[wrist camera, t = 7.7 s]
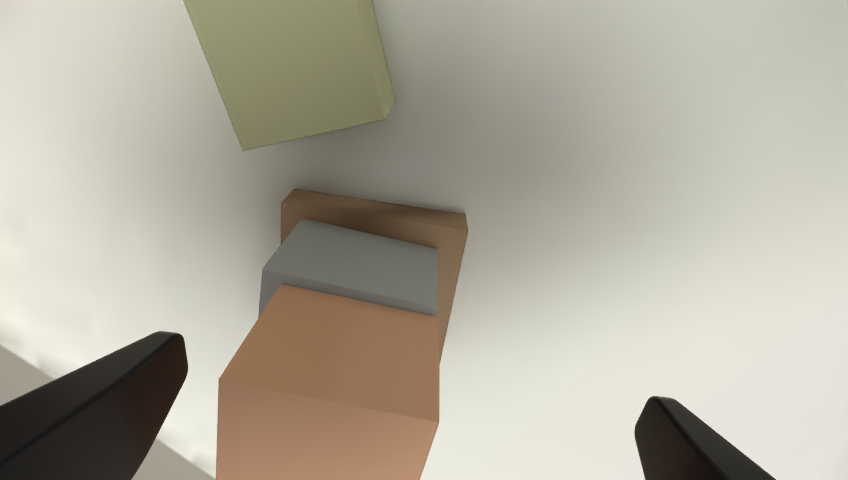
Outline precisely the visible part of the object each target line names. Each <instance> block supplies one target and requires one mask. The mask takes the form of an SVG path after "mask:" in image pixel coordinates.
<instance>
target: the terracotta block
mask: <svg viewBox="0 0 848 480" xmlns="http://www.w3.org/2000/svg"><path fill="white" fill-rule="evenodd" d="M439 350H440V317H437V316H432V315H427V314H422V313H418V312H413V311H408V310H404V309H399V308H394V307H389V306H385V305H380V304H375V303H370V302H366V301H361V300H356V299H351V298H347V297H342V296H337V295H333V294H328V293H323V292H318V291H314V290H309V289H304V288H299V287H295V286H290V285H285V284H281V285H280V286H279V288H278V289H277V291H276V292H275V294H274V296H273V297H272V299H271V300H270V302H269V303H268V305H267V306H266V308H265V309H264V311H263V312H262V314H261V315H260V317H259V319H258V320H257V322H256V323H255V325H254V326H253V328H252V329H251V331H250V332H249V334H248V335H247V337H246V338H245V340H244V342H243V343H242V345H241V346H240V348H239V349H238V351H237V352H236V354H235V355H234V357H233V358H232V360H231V361H230V363H229V364H228V366H227V368H226V369H225V371H224V372H223V374H222V375H221V377H220V378H219V389H218V423H217V458H216V480H420V477H421V475H422V472H423V469H424V466H425V463H426V460H427V457H428V454H429V451H430V448H431V445H432V442H433V439H434V436H435V433H436V430H437V427H438V424H439Z"/></svg>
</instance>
